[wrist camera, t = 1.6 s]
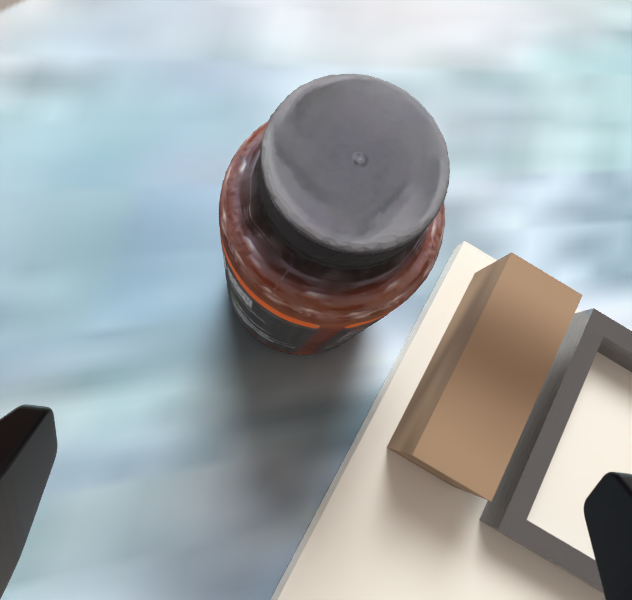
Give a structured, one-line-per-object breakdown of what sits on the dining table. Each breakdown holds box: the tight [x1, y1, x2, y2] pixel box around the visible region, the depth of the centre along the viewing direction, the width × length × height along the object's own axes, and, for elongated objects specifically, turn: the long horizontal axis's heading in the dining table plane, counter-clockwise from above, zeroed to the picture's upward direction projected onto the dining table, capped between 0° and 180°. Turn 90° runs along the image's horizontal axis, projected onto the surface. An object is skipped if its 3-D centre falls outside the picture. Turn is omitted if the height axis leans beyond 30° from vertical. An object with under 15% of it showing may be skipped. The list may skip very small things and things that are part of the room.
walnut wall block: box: [387, 253, 582, 501], centre depth 19 cm, size 8×3×3 cm, turn 150°
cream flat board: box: [270, 241, 632, 600], centre depth 20 cm, size 19×16×1 cm
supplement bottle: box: [219, 74, 450, 354], centre depth 16 cm, size 6×6×11 cm
